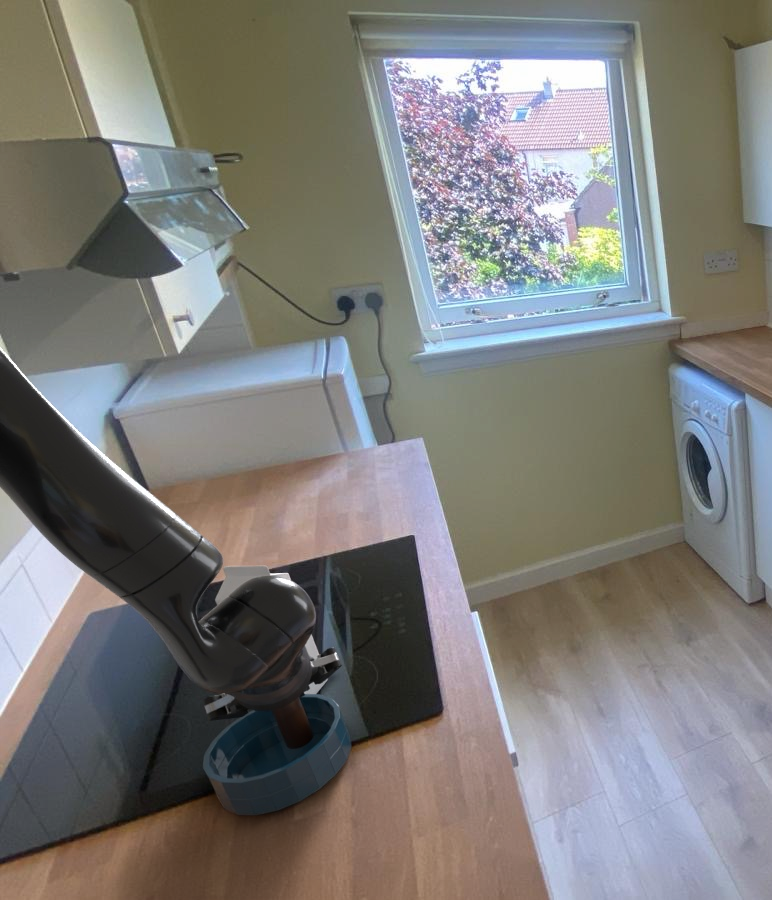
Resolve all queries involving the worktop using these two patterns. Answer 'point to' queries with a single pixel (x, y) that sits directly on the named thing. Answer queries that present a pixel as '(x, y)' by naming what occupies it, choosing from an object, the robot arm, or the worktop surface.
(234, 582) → the milk
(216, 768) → the bowl
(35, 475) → the robot arm
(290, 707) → the brown tall cylinder
